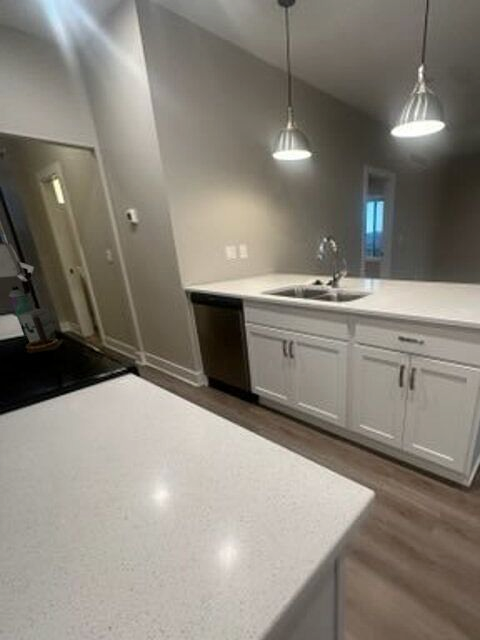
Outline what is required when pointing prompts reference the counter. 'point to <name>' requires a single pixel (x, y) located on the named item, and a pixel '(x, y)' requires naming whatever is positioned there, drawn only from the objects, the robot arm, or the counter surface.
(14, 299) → the spray can
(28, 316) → the ink box
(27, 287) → the robot arm
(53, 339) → the ring
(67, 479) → the counter surface
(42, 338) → the peg on round base
